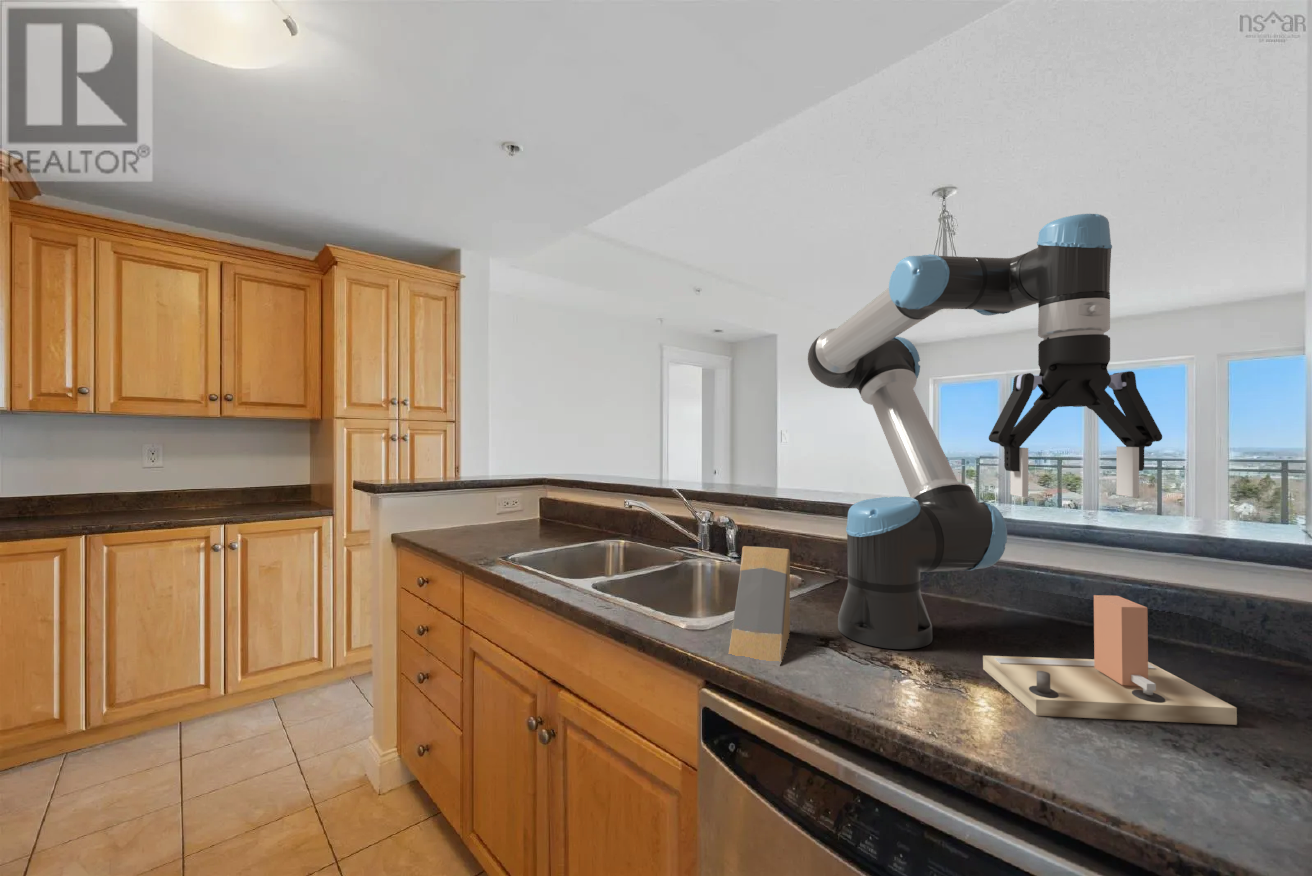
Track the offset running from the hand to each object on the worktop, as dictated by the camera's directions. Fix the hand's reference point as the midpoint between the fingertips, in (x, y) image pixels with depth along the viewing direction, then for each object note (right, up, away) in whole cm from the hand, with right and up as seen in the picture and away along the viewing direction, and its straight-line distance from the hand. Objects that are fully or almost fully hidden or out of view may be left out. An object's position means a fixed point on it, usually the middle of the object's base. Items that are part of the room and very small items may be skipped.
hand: (1072, 496), depth 70 cm
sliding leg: (+5, -24, -2) cm, 24 cm away
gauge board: (+3, -26, -1) cm, 26 cm away
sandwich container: (-38, -27, +17) cm, 50 cm away
